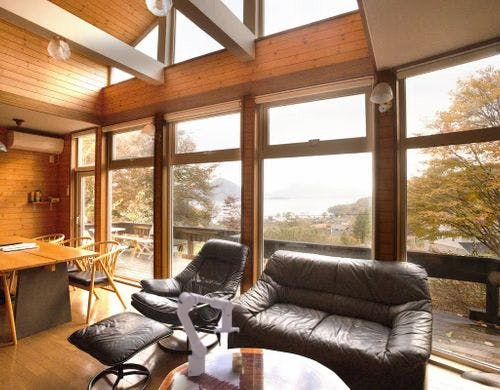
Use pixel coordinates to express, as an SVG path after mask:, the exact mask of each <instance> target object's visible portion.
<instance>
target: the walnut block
mask: <svg viewBox="0 0 500 390" xmlns="http://www.w3.org/2000/svg"><path fill="white" fill-rule="evenodd" d="M242 367H243V364H242V365H233V360H232V362H231V368H232V370H233V373H241V372H242Z"/></svg>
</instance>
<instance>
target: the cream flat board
mask: <svg viewBox="0 0 500 390" xmlns="http://www.w3.org/2000/svg"><path fill="white" fill-rule="evenodd" d="M229 369H230V374H231V375H240V374H241V375H242V374H245V371H244V367H243V366H242V372H241V373H233V370H232V367H230V368H229Z"/></svg>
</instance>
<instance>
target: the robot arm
mask: <svg viewBox="0 0 500 390" xmlns="http://www.w3.org/2000/svg"><path fill="white" fill-rule="evenodd" d="M198 303H201V304H207V305H210V307H211V308H214V309H218V310H221V327H219V328H213V335H215V336H216V338H217V340H218V346H219V347H221V346H222V345H221V336H222V335H221V334H222V333H223V334H224V333H225V334H228V333H231V335H232V339H231V344H232V346H234V345H235V341H236V338H237V336H238V333H240V328H239V327H234V326H232V322H233V321H232V317H233V315H232V314H233V312H232V311H233V310H234V307H235V305H233V302H232V301H230V300H229V299H226V298H220V296H218V295H216V296H212V298H211V297H207V296H204V295H201V294H197V293H193V292H187V291H183V292H181V293H180V295H179V297H178V298H177V310H176V313H177V316H178V318H179V322H180V323H181V326H183V329H184V331H185V333H186V335H187V338H188V340H189V343H190V350H191V351H192V353H191V355H188V361H187V363H188V364H187V365H188V366H187V371H188V372H187V376H188V377H193V376H194V377H196V376H198V377H199V376H201V374H204V373H205V372H206V355H207V353H208V348H207V346H206V345H204V344H203V342H202V340H201V339H200V337H199V335H198V332H197V331H196V328H195V327H194V325H193V323H192V320H191V318H190V316H189V312H190V311H191V310H192V308H193V307H194V305H197V304H198Z"/></svg>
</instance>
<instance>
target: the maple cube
mask: <svg viewBox="0 0 500 390" xmlns="http://www.w3.org/2000/svg"><path fill="white" fill-rule="evenodd" d="M232 361H233V365H242V366H243V355H242V353H241V352H232Z"/></svg>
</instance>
